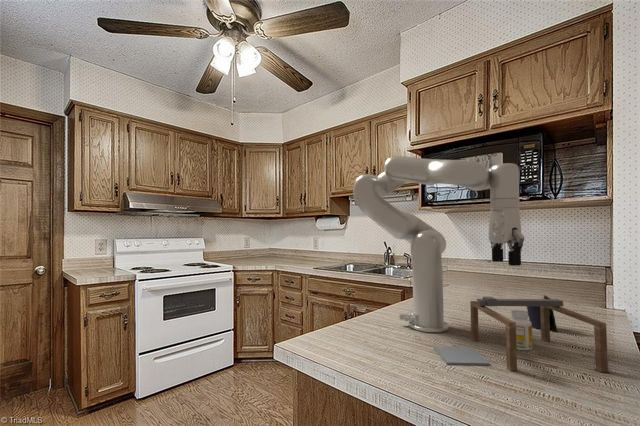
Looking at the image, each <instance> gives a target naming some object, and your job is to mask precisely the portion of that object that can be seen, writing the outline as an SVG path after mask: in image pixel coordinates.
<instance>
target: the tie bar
mask: <svg viewBox="0 0 640 426" xmlns="http://www.w3.org/2000/svg"><path fill="white" fill-rule="evenodd" d="M476 302H477V304H478V305H479V306H486V307H527V306H559V307H562V308H564V300H562V299H558V298H553V299H551V298H550V299H544V298H495V297H493V296H482V298H476Z"/></svg>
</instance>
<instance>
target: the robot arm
mask: <svg viewBox="0 0 640 426" xmlns="http://www.w3.org/2000/svg"><path fill="white" fill-rule="evenodd" d="M384 162H385V163H384V166H383V170H384V171H383V172H382V173H380V174H379V175H378V176H376V175H374V174H370V173H366V174H365V173H364V174H362V175H359V176H358V177H357V178H356V179H355V181H354V184H353V190H352V195H353V200H354V202H355V204H356V206H357V207H358V209H359V210H360V211H361V212H362V213H363V214H364V215H365V216H366V217H368V218H369V219H371V220H372V221H373V222H374V223H376V224H377V225H378V226H379V227H381V228H382V229H384V230H385V232H387V233H388V234H389V235H391V236H392V237H394V238H396V239H397V240H405V241H406V242H407V243H409V244H410V257H411V266H412V267H411V269H412V307H413V308H412V310H410V312H408V313H399V314H398V320H403V321H404V322H408V326H409V327H410V328H412V329H414V330H417V331H420V332H425V333H443V332H447V331H449V330H450V325H449V323H448V322H446V321H444V320H445V318H444V316H445V315H444V314H445V313H444V310H445V309H444V273H443V257H442V255H443V253H444V252H445V250H446V248H447V241H446V238H445V236H444V235H443V234H442V233H441V232H439V231H438V230H437V229H435V228H433V227H432V226H431V225H430V224H428V223H426V222H425V221H424V220H423V219H421V218H420V217H418V216H416V215H414V214H412V213H408V212H404V211H402V210H400V209H398V207H395V206H394V205H392V204H391V203H390V202H389V201H387V200H385V199H384V198H385V197H386V196H388V195H390V194H391V193H394V192H395V191H396V190H397V189H399V188H400V187H402V186H403V185H405V184H406V183H413V184H420V185H428V186H430V185H431V186H432V185H437V184H441V185H442V184H443V185H453V186H460V187H466V188H467V189H469V190H470V191H475V192H478V191H484V190H489V191H490V193H489V194H490V195H489V198H490V214H489V221H488V223H489V225H488V240H489V242H490V247H491V261H492V262H494V263H495V262H497V263H500V262H502V263H503V262H504V248H503V245H504V244H506V245H507V247H508V249H509V250H508V251H507V252H508V253H507V257H508V258H507V259H508V265H509V266H515V267H516V266H519V267H521V265H522V250H523V246H524V241H525V235H523V234H522V225H521V215H520V178H519V177H520V175H519V174H520V173H519V171H520V170H519V169H520V168H519V166H518V164H516V163H509V162H506V163H499V164H498V163H497V164H495V165H492V166H491V167H486V165H484V164H482V163H479V162H474V161H467V160H457V159H437V158H436V159H433V158H422V157H421V158H420V157H411V156H402V155H394V156H390V157H388V158H387V159H386V160H385V161H384Z"/></svg>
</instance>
